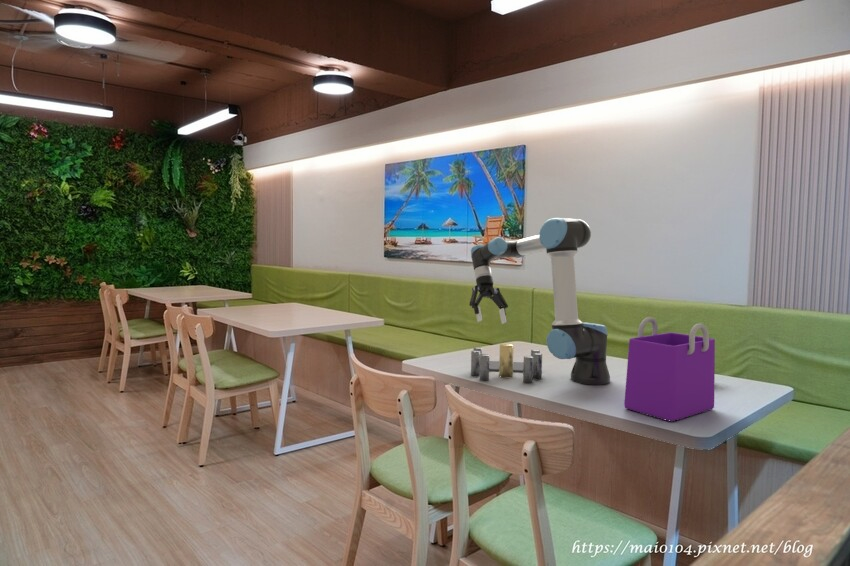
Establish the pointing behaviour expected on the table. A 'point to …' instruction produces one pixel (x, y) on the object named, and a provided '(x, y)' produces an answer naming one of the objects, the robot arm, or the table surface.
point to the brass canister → (506, 360)
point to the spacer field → (530, 367)
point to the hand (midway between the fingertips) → (492, 322)
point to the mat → (516, 366)
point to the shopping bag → (670, 373)
